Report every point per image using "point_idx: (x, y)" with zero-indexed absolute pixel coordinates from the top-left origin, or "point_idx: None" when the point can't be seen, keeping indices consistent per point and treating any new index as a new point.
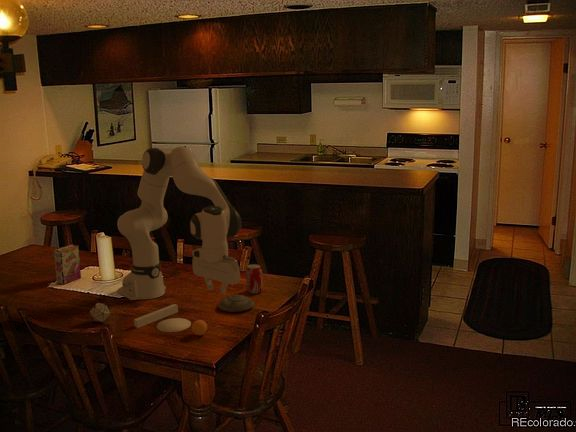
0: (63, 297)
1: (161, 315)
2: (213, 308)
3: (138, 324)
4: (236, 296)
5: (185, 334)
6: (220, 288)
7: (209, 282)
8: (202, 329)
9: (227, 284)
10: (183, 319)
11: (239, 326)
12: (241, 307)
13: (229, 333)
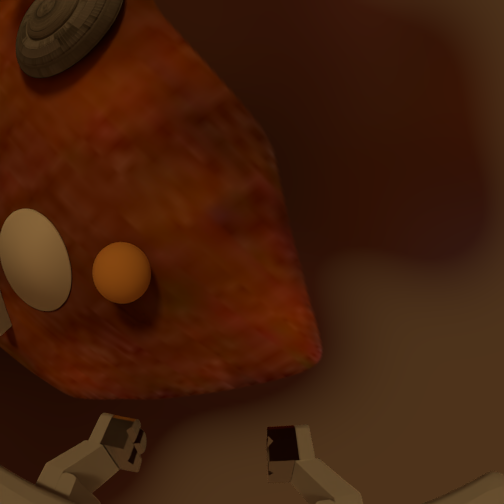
0: None
1: None
2: (20, 87)
3: (6, 327)
4: (50, 7)
5: None
6: (272, 481)
7: (98, 469)
8: (147, 284)
9: (352, 496)
10: (18, 216)
11: (189, 107)
12: (100, 20)
13: (206, 182)
